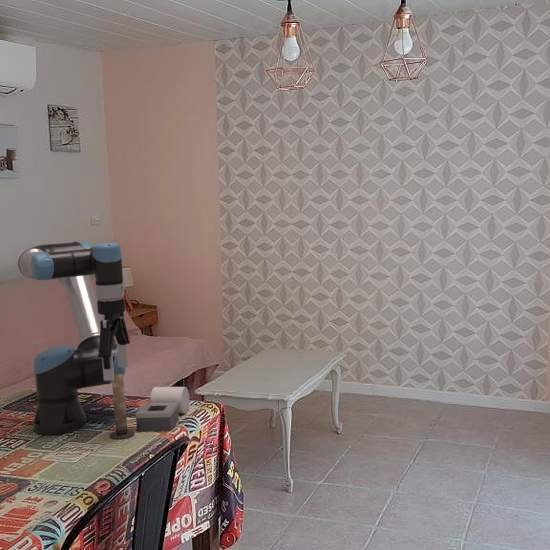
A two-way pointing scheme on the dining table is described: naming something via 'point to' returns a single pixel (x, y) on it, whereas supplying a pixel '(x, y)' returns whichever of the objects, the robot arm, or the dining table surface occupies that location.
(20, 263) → the robot arm
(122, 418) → the brown upright bar
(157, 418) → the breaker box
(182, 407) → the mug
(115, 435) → the coaster
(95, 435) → the dining table surface
